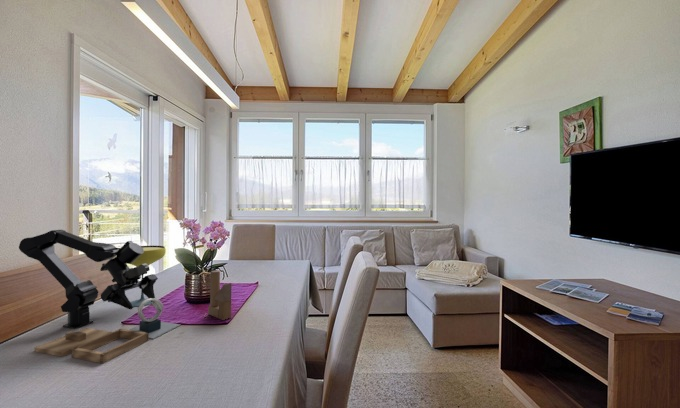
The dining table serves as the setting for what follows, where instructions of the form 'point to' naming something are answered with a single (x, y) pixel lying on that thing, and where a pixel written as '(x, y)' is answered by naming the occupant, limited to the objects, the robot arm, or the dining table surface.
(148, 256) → the cocktail glass
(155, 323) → the watch
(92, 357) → the wooden rectangular frame
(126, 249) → the robot arm
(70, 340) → the lid
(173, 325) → the felt mat
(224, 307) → the wooden block
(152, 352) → the dining table surface
